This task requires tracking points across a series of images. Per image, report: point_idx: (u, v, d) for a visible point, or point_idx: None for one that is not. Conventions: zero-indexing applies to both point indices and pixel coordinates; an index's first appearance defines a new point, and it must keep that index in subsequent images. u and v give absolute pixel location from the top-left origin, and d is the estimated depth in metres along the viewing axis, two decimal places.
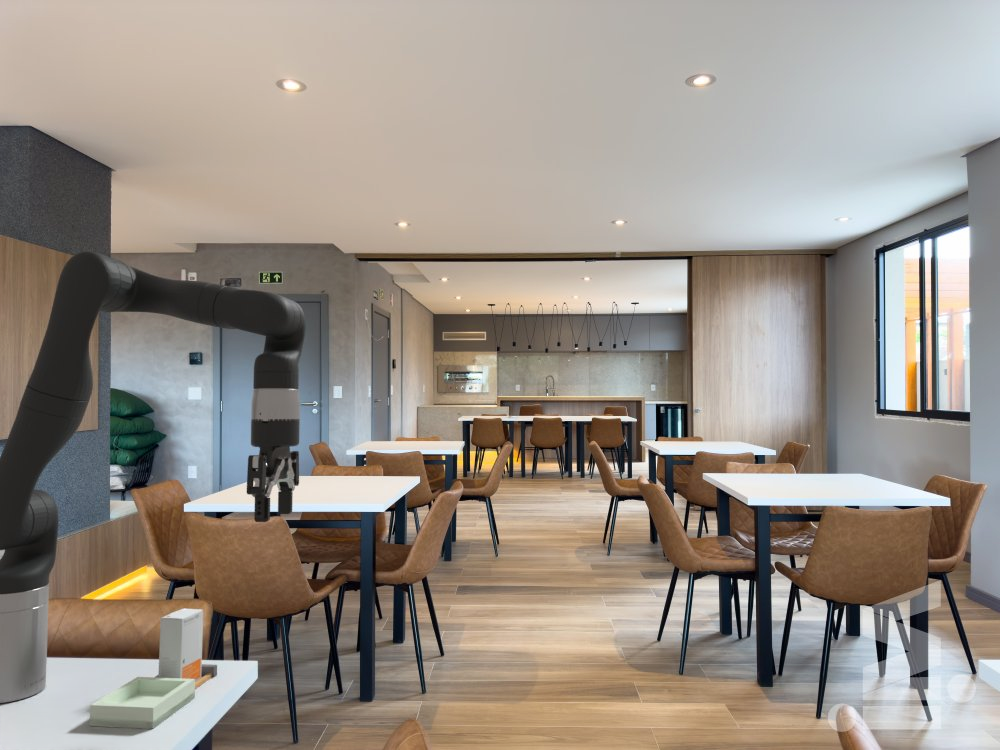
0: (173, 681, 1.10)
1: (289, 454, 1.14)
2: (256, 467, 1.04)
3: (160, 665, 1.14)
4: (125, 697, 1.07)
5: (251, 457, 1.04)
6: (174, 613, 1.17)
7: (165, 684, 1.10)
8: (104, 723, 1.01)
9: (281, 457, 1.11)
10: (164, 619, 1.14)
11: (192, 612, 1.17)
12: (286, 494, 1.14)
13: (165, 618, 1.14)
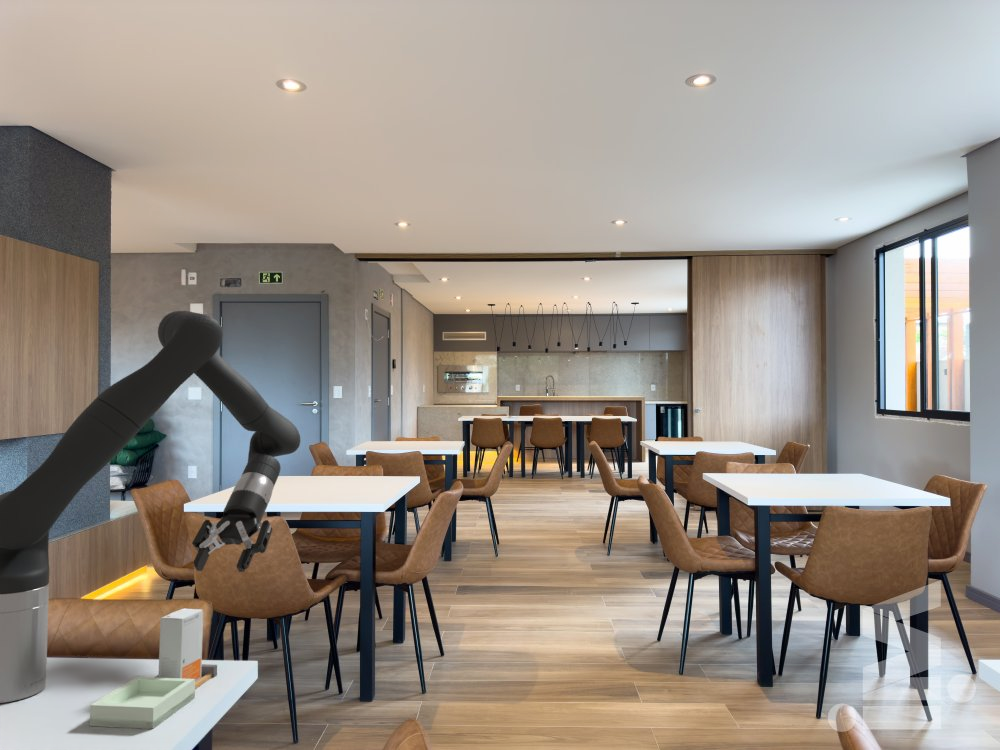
0: (173, 681, 1.10)
1: None
2: (268, 531, 1.34)
3: (160, 665, 1.14)
4: (125, 697, 1.07)
5: None
6: (174, 613, 1.17)
7: (165, 684, 1.10)
8: (104, 723, 1.01)
9: None
10: (164, 619, 1.14)
11: (192, 612, 1.17)
12: (206, 554, 1.31)
13: (165, 618, 1.14)
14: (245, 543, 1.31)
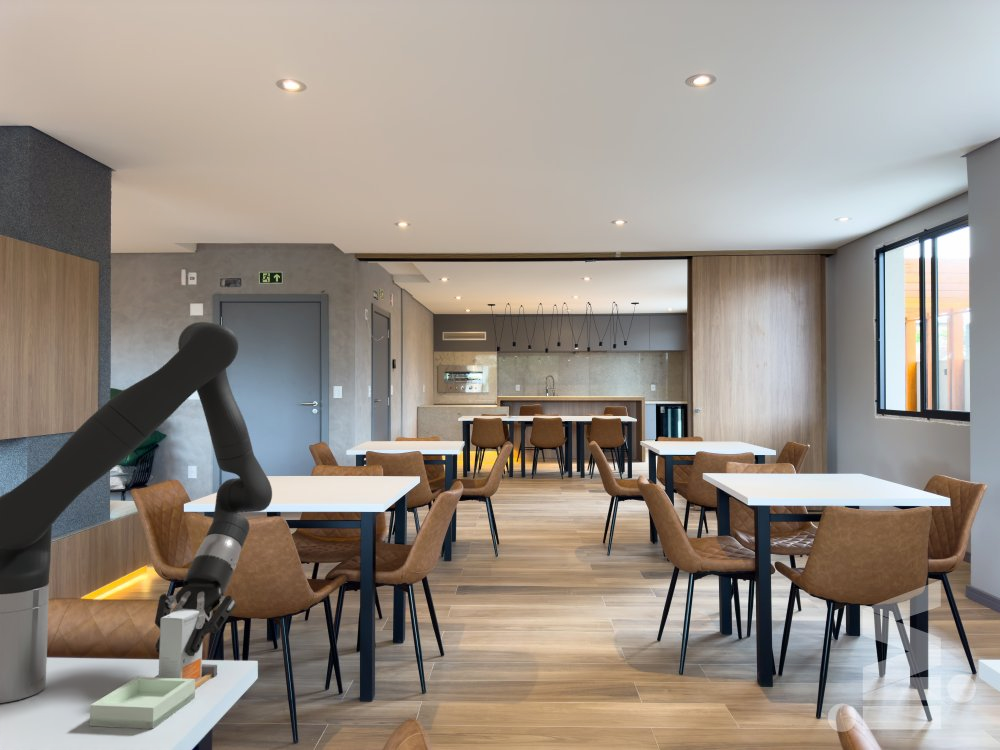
0: (173, 681, 1.10)
1: None
2: (228, 609, 1.20)
3: (160, 665, 1.14)
4: (125, 697, 1.07)
5: (232, 599, 1.21)
6: (174, 613, 1.17)
7: (165, 684, 1.10)
8: (104, 723, 1.01)
9: None
10: (164, 619, 1.14)
11: (192, 612, 1.17)
12: None
13: (165, 618, 1.14)
14: (198, 621, 1.17)
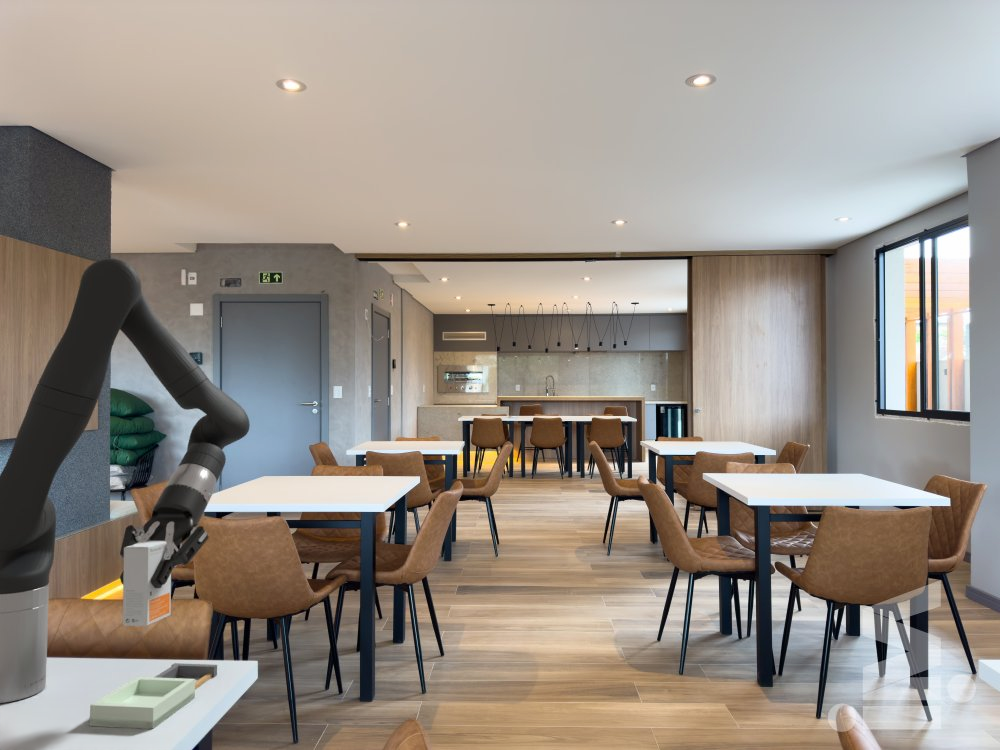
0: (173, 681, 1.10)
1: None
2: (200, 541, 1.11)
3: (124, 598, 1.04)
4: (125, 697, 1.07)
5: (204, 530, 1.11)
6: (139, 543, 1.07)
7: (165, 684, 1.10)
8: (104, 723, 1.01)
9: None
10: (128, 548, 1.05)
11: (159, 542, 1.08)
12: None
13: (129, 547, 1.05)
14: (166, 552, 1.08)
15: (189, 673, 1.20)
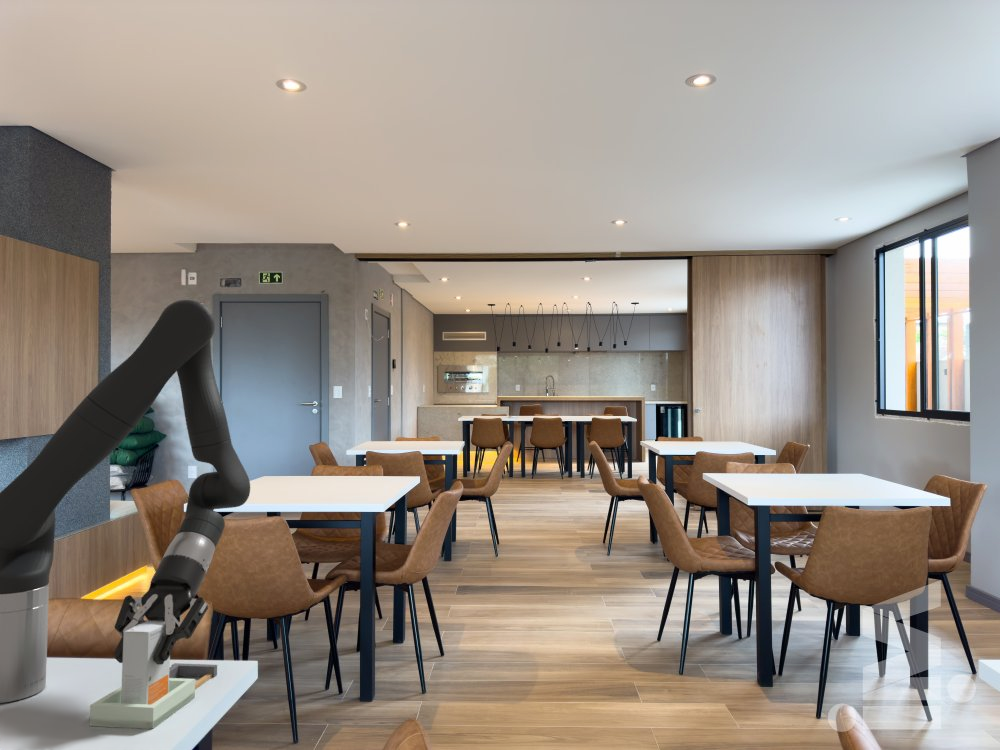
0: (173, 681, 1.10)
1: None
2: (200, 612, 1.10)
3: (123, 684, 1.03)
4: None
5: (203, 601, 1.11)
6: (139, 626, 1.07)
7: None
8: (104, 723, 1.01)
9: None
10: (128, 632, 1.04)
11: (159, 624, 1.07)
12: None
13: (129, 632, 1.04)
14: (167, 626, 1.07)
15: (189, 673, 1.20)
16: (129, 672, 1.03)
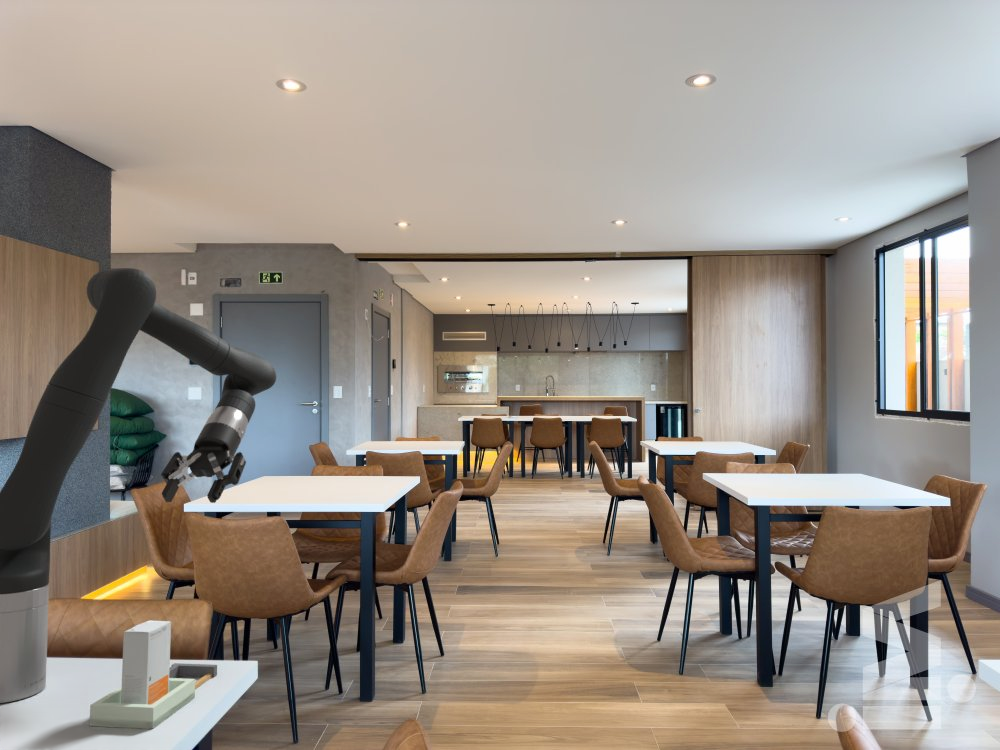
0: (173, 681, 1.10)
1: None
2: (241, 464, 1.29)
3: (123, 684, 1.03)
4: None
5: (242, 455, 1.29)
6: (139, 626, 1.07)
7: None
8: (104, 723, 1.01)
9: None
10: (128, 632, 1.04)
11: (159, 624, 1.07)
12: (176, 486, 1.26)
13: (129, 632, 1.04)
14: (217, 474, 1.25)
15: (189, 673, 1.20)
16: (129, 672, 1.03)
